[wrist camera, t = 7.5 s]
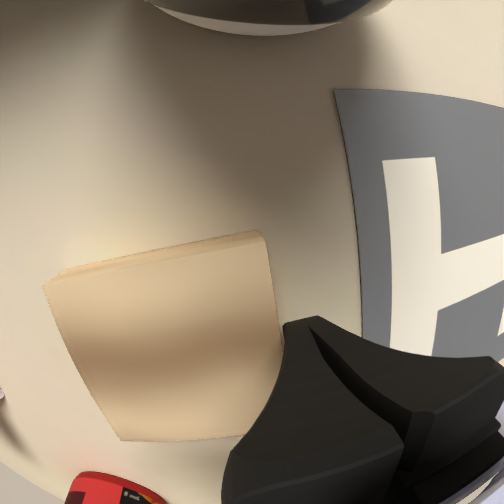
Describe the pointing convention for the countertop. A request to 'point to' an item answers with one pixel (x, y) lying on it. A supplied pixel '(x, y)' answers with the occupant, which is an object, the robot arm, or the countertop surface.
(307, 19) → the black egg shaped container
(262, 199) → the countertop surface
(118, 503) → the canned food
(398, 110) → the letter card
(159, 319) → the oak slab
